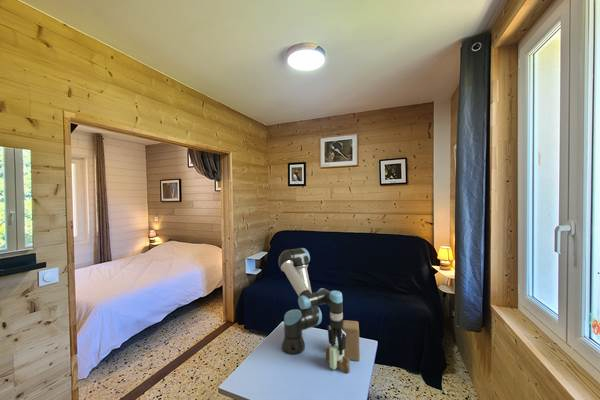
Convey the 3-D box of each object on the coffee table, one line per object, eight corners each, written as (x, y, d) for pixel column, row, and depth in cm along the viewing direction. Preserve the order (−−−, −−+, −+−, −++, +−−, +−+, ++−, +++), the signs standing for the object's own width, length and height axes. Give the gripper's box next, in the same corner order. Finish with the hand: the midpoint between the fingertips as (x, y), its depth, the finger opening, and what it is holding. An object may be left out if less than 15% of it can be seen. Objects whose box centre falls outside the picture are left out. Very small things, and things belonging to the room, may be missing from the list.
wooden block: (359, 361, 149) (359, 328, 149) (342, 359, 151) (342, 327, 151) (359, 351, 159) (358, 320, 159) (343, 350, 161) (342, 319, 161)
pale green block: (333, 369, 141) (333, 350, 141) (329, 367, 143) (329, 348, 143) (344, 361, 148) (344, 343, 148) (340, 359, 150) (340, 341, 150)
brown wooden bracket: (325, 360, 151) (325, 347, 151) (328, 359, 152) (327, 346, 152) (347, 374, 139) (347, 359, 139) (349, 372, 140) (349, 358, 140)
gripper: (321, 316, 149) (322, 355, 149) (343, 325, 137) (344, 368, 137) (329, 312, 154) (330, 349, 154) (351, 320, 142) (352, 361, 142)
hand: (337, 358), depth 145 cm, fingers closed on pale green block, 3 cm apart
